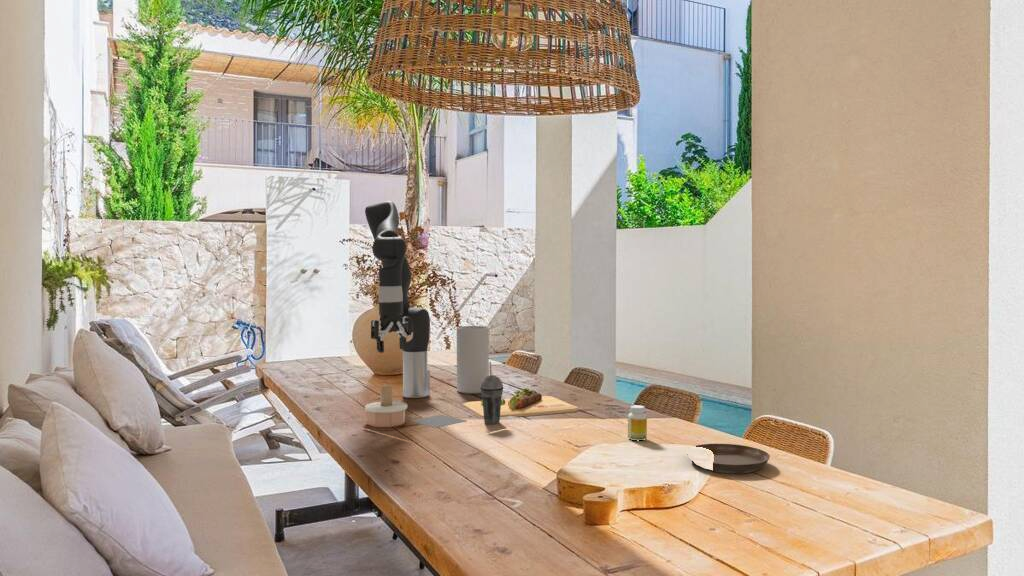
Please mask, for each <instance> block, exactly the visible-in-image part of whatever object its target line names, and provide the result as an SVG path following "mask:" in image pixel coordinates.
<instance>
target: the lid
mask: <svg viewBox="0 0 1024 576" xmlns="http://www.w3.org/2000/svg"><path fill="white" fill-rule="evenodd" d="M407 409H408V403H406V402H403V401H397V400H396V401H394V400H393V386H392V385H387V384H386V385H380V401H374V402H370V403H367V404H365V408H364V410H365V411H366V412H367V411H369V412H374V413H392V412H400V411H403V410H405V411H406V410H407Z"/></svg>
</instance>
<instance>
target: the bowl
mask: <svg viewBox="0 0 1024 576" xmlns="http://www.w3.org/2000/svg"><path fill="white" fill-rule="evenodd" d="M366 414H367V415H366V423H367V425H368V426H372V427H376V428H378V427H379V428H385V427H386V428H387V427H389V428H390V427H391V428H392V427H397V426H401V425H404V424H405V422H406V410H403V411H400V412H392V413H374V412H369V411H366Z"/></svg>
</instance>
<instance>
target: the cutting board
mask: <svg viewBox="0 0 1024 576" xmlns="http://www.w3.org/2000/svg"><path fill="white" fill-rule="evenodd" d="M513 393H514V394H515V395H513V396H511V397H510V398H504V399H502V398H501V410H500V418H501V417H514V418H515V417H516V418H518V417H519V418H520V417H531V416H532V417H533V416H542V415H553V414H554V415H555V414H564V413H565V414H566V413H575V412H577V411H579V407H578V406H575V405H573V404H570V403H568V402H566V401H564V400H561V399H559V398H557V397H554V396H550V395H542V394H541V393H539V392H537V391H536V390H534V389H532V390H530V388H529V387H524V388H523V390H522V391H521V390H515V391H513ZM462 406H463V407H464V408H466V409H467V410H470V411H471V412H473V413H474V414H476V415H477V416H479V417H481V418H484V412H483V400H476V401H473V400H472V401H467V402H464V403H462Z"/></svg>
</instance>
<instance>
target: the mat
mask: <svg viewBox="0 0 1024 576" xmlns="http://www.w3.org/2000/svg"><path fill="white" fill-rule="evenodd" d="M410 422H411V423H416V424H421V425H422V426H423V425H424V426H426V427H427V426H428V427H430V428H431V427H432V428H435V429H439V428H440V427H441V428H442V427H446V426H451V425H455V424H460V423H463V422H467V420H466V419H461V418H458V417H453V416H449V415H445V414H436V415H433V416H428V417H423V418H417V419H412V420H410Z"/></svg>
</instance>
